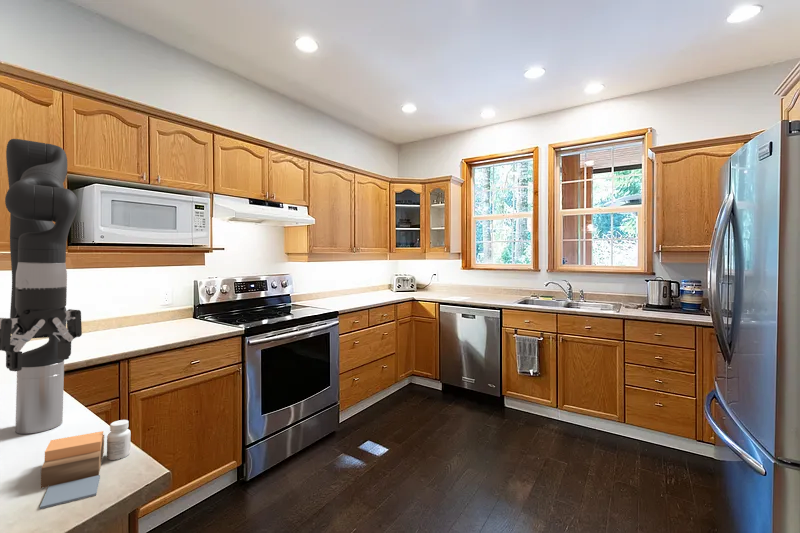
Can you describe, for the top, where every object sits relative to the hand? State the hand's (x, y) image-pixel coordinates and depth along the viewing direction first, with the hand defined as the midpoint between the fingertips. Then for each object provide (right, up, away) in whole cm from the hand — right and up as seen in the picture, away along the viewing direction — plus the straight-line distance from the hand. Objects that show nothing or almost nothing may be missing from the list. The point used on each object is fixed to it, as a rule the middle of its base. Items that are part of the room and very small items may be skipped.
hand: (40, 364), depth 77 cm
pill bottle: (+7, -24, +11) cm, 28 cm away
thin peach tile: (+2, -20, +6) cm, 21 cm away
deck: (+2, -24, +6) cm, 25 cm away
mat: (+9, -24, -3) cm, 26 cm away
